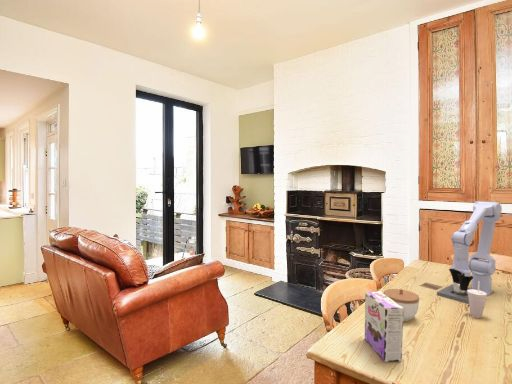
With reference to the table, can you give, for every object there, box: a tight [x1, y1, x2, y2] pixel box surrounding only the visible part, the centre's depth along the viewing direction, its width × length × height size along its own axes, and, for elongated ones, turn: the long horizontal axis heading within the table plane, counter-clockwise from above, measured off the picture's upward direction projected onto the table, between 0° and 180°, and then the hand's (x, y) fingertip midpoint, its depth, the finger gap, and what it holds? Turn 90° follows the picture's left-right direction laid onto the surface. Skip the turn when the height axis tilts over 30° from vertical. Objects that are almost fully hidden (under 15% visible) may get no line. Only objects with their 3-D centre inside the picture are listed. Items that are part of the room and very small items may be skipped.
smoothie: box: [467, 281, 488, 319], centre depth 123 cm, size 6×6×14 cm
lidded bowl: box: [383, 288, 420, 322], centre depth 122 cm, size 13×13×11 cm
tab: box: [418, 282, 443, 291], centre depth 155 cm, size 8×8×1 cm
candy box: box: [364, 290, 404, 363], centre depth 98 cm, size 14×6×16 cm, turn 5°
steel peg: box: [453, 282, 465, 296], centre depth 142 cm, size 4×4×7 cm
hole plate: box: [436, 283, 487, 307], centre depth 143 cm, size 18×14×3 cm
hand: (460, 287), depth 142 cm, fingers open, 7 cm apart
